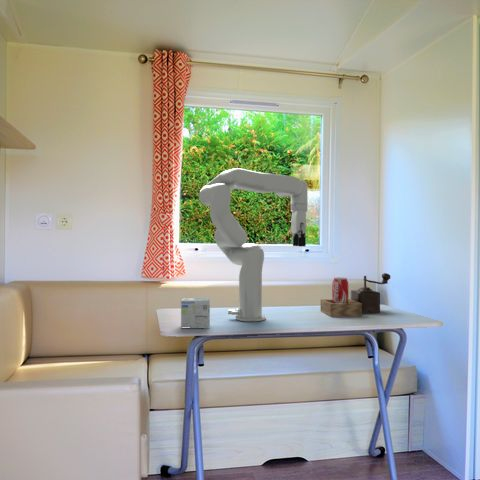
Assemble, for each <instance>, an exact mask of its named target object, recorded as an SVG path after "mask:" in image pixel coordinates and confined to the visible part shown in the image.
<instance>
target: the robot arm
mask: <svg viewBox="0 0 480 480" xmlns="http://www.w3.org/2000/svg"><path fill="white" fill-rule="evenodd" d="M233 190H240V191H246V192H252V193H255V194H256V193H258V194H267V193H268V194H269V193H274V194H275V195H276V196H277V197H280V198H285V197H286V198H287V197H290V212H291V220H290V222H291V223H290V224H291V225H290V233H291V234H292V246H293V247H306V242H307V241H306V240H307V239H306V238H307V237H306V236H307V235H306V233H307V213H306V212H308V183H307V181H304V180H300V179H299V178H298V177H296V176H290V175H285V174H277V173H266V172H265V173H264V172H258V171H253V170H249V169H245V168H240V167H239V168H238V167H237V168H236V167H234V168H230V169H227V170H224V171H222V172H220V173H219V174H218V175H217V176H216V177H214V178H213V179H211V181H209V182H208V183H206V184H205V185H203V187H202V188H201V189H200V191H199V194H198V199H199V202H201V204H202V205H204V206H207V207H209V211H210V212H209V216H210V220H211V222H212V225H213V226H214V227H215V228H216V229H215V231H214V237H213V238H214V241H215V244H216V245H217V247H219V249H220V251H221V252H222V253H223V254H224V255H225V256H226V257H227V259H228V260H229V261H230V262H231V263H232V264H234V265H236V266H241V267H240V270H239V275H238V287H239V289H238V291H239V292H238V293H239V294H238V298H239V299H238V301H239V302H238V303H239V304H238V305H239V306H237V308H236V309H227V314H228V315H233V316H234V315H235V320H236V321H239V322H240V321H241V322H250V323H251V322H253V323H254V322H261V321H265V320H266V315H264V314H262V313H263V312H262V311H263V303H262V302H263V297H262V296H263V281H262V279H263V266H264V260H265V253H264V250H263V248H262V247H261V246H260V245H258V244H256V243H253V242H252V243H249V242H247V241H248V234H247V232H246V231H245V229H244V228H243V227H242V225H241V224H240V222H239V221H238V220H237V219H236V217H235V216H234V215H233V213H232V212H231V207H230V205H231V198H232V191H233Z"/></svg>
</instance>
